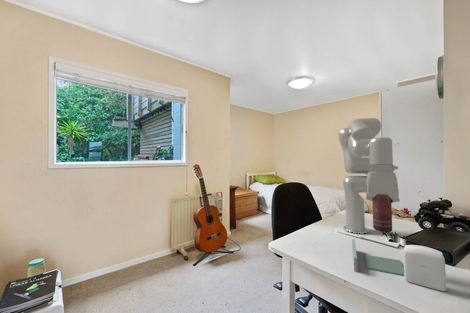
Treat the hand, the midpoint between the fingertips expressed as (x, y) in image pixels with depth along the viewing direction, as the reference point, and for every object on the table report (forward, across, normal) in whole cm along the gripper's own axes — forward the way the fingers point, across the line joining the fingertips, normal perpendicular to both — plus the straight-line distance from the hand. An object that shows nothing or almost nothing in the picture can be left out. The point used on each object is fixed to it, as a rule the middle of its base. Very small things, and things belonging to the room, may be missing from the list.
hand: (382, 215), depth 81 cm
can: (+6, 0, 0) cm, 6 cm away
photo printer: (+20, -10, +9) cm, 24 cm away
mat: (+19, 0, 0) cm, 19 cm away
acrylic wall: (+19, +10, 0) cm, 22 cm away
